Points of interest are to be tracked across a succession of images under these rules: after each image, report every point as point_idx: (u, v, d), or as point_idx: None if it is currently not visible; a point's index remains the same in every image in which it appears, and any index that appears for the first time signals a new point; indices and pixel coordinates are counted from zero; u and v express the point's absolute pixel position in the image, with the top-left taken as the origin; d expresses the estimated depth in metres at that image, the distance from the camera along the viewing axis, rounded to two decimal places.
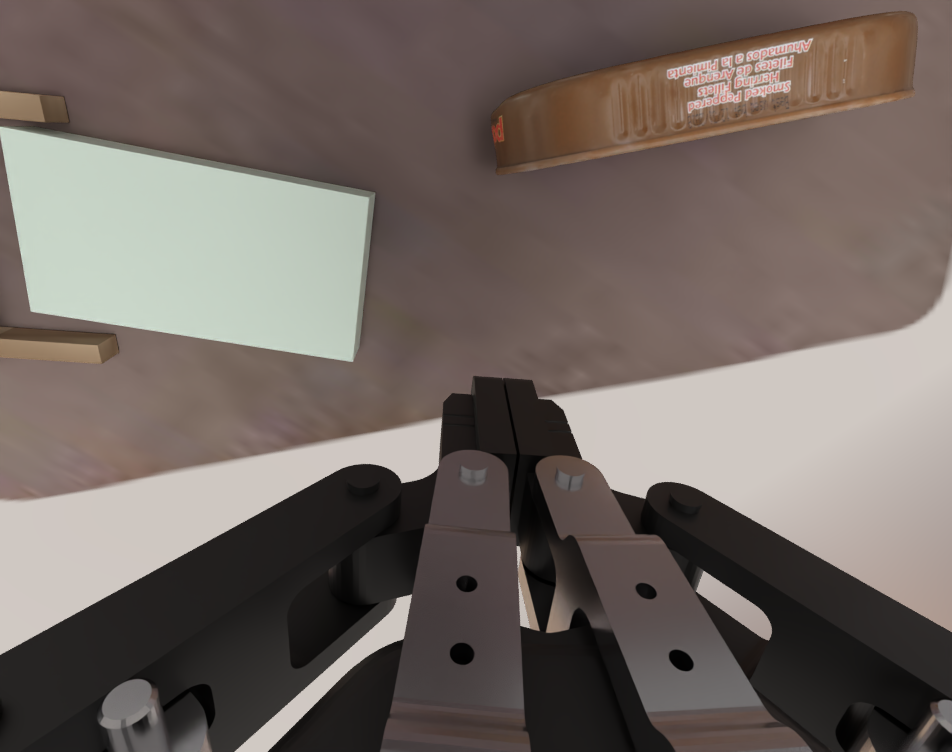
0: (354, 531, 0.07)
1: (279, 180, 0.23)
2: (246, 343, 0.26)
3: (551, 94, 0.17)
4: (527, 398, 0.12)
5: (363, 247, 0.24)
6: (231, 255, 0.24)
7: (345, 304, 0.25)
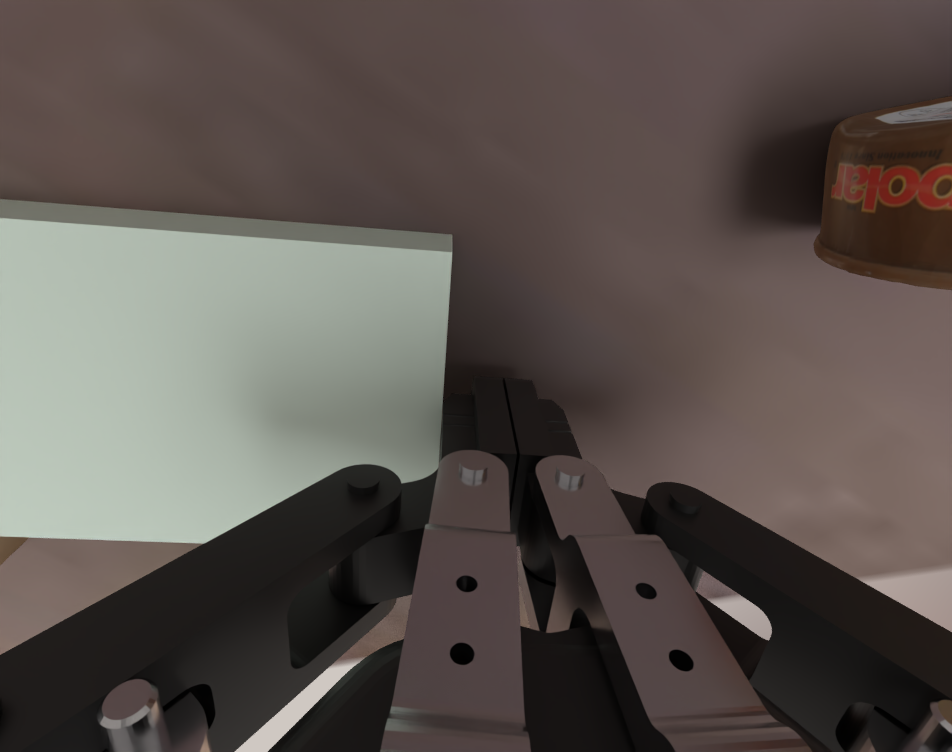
0: (354, 532, 0.07)
1: (259, 237, 0.11)
2: None
3: None
4: (527, 398, 0.12)
5: (444, 351, 0.12)
6: (182, 395, 0.12)
7: (413, 457, 0.13)
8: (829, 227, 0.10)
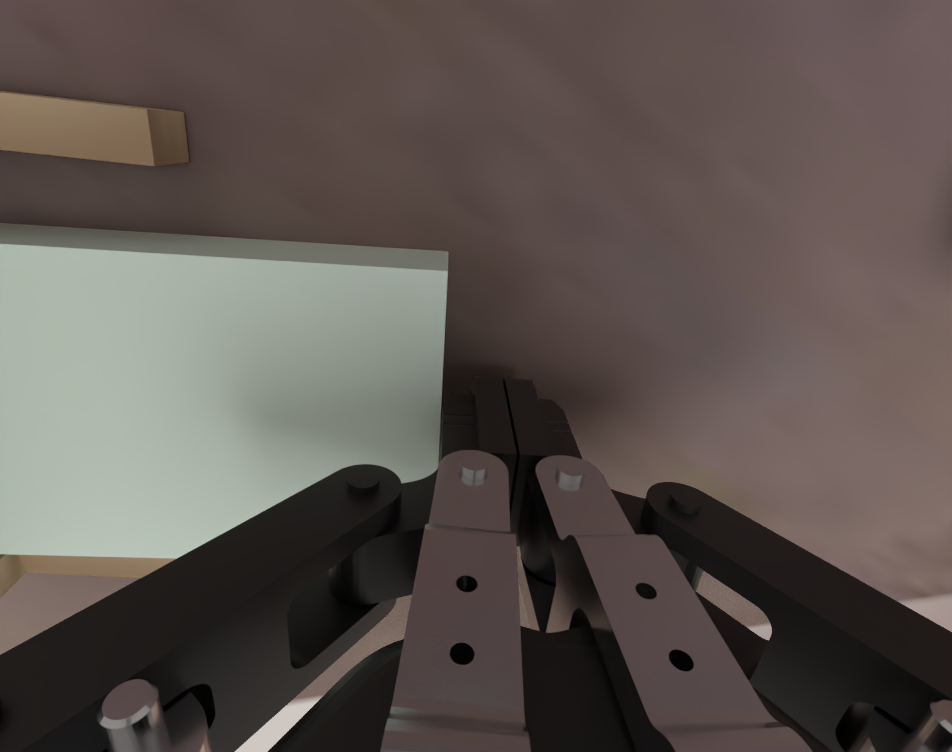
0: (354, 532, 0.07)
1: (257, 259, 0.11)
2: None
3: None
4: (527, 398, 0.12)
5: (441, 368, 0.12)
6: (184, 413, 0.12)
7: (412, 472, 0.13)
8: None
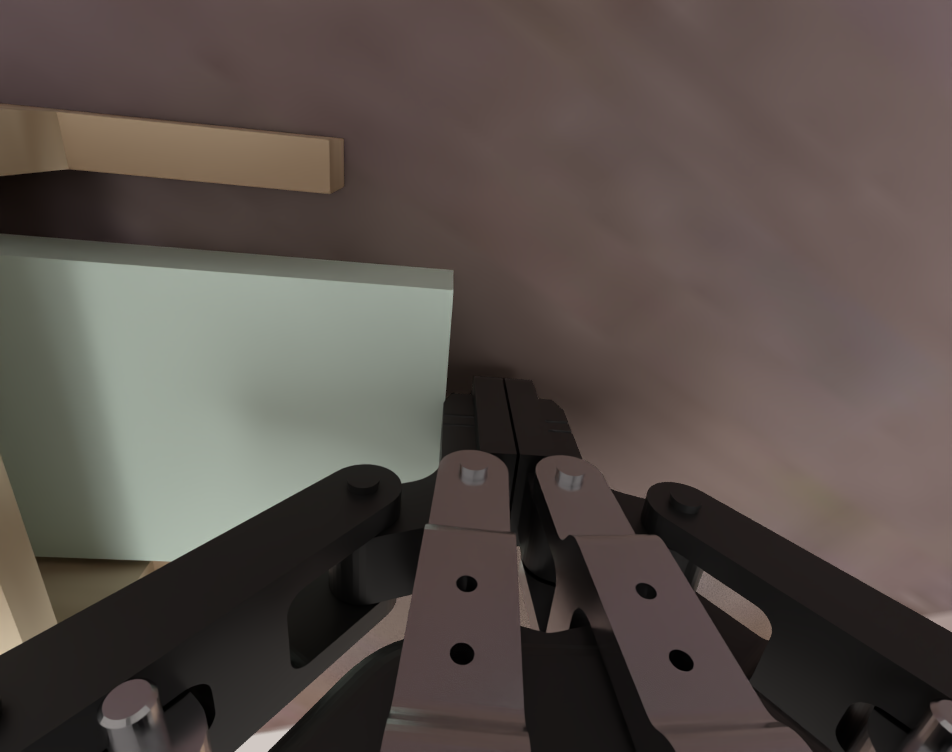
0: (354, 531, 0.07)
1: (269, 275, 0.11)
2: None
3: None
4: (527, 398, 0.12)
5: (444, 382, 0.12)
6: (193, 422, 0.12)
7: None
8: None
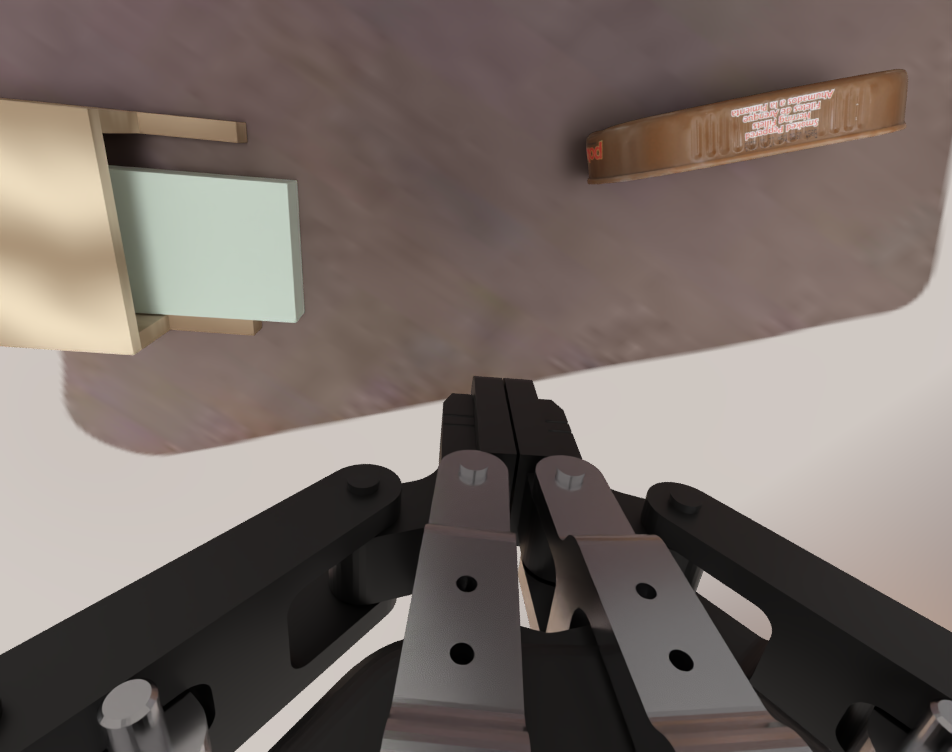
0: (354, 532, 0.07)
1: (214, 177, 0.28)
2: (208, 315, 0.32)
3: (646, 126, 0.23)
4: (527, 398, 0.12)
5: (289, 225, 0.30)
6: (185, 243, 0.30)
7: (282, 274, 0.31)
8: None
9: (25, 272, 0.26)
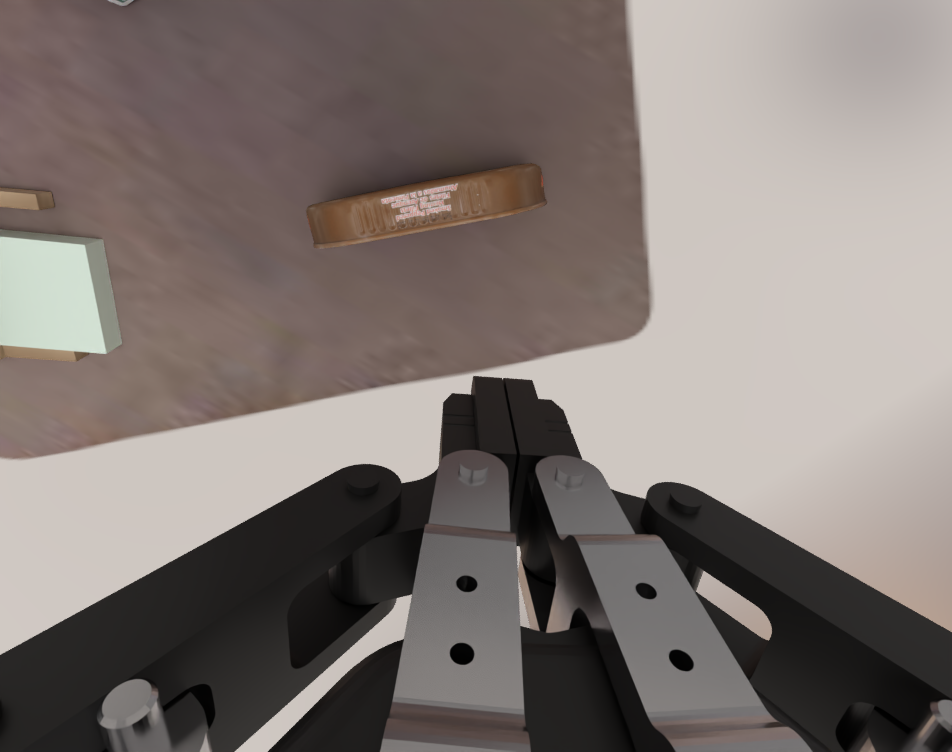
0: (354, 532, 0.07)
1: (24, 238, 0.35)
2: (31, 346, 0.38)
3: (323, 209, 0.30)
4: (527, 398, 0.12)
5: (90, 276, 0.36)
6: (6, 289, 0.37)
7: (89, 315, 0.38)
8: None
9: None
